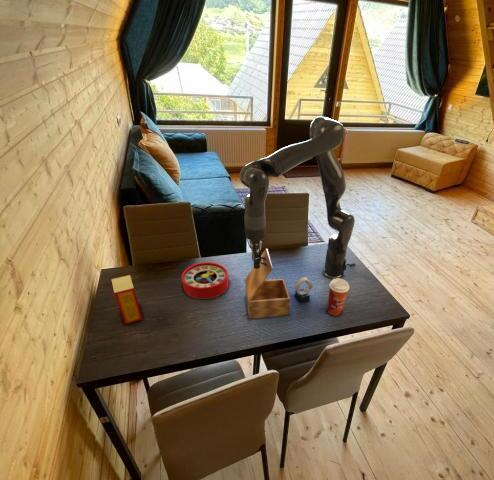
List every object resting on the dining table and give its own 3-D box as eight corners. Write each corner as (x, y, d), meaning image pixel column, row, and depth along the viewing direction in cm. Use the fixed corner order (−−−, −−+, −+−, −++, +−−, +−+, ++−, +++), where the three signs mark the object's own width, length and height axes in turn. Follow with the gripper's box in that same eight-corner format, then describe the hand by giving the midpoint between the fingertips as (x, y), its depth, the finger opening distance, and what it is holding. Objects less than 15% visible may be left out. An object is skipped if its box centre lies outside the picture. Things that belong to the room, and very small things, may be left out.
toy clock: (213, 257, 153) (236, 277, 141) (214, 267, 156) (236, 287, 145) (173, 271, 141) (195, 294, 130) (175, 282, 145) (197, 305, 133)
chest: (282, 294, 143) (284, 278, 138) (289, 315, 132) (290, 298, 127) (245, 297, 140) (245, 281, 134) (249, 318, 129) (248, 302, 124)
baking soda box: (121, 309, 128) (110, 278, 119) (138, 304, 131) (129, 273, 122) (125, 324, 122) (114, 292, 112) (142, 319, 125) (133, 287, 115)
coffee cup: (331, 319, 132) (337, 291, 123) (321, 307, 137) (325, 280, 128) (347, 314, 135) (354, 286, 126) (336, 302, 141) (342, 275, 132)
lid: (267, 248, 127) (256, 243, 124) (273, 268, 116) (260, 263, 113) (246, 280, 134) (234, 276, 132) (249, 301, 123) (237, 297, 121)
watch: (312, 299, 141) (315, 280, 135) (297, 304, 138) (299, 284, 131) (306, 292, 145) (309, 273, 138) (291, 296, 142) (293, 277, 135)
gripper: (268, 233, 107) (268, 274, 117) (262, 215, 118) (262, 253, 128) (246, 234, 105) (248, 275, 115) (242, 216, 116) (244, 254, 126)
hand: (255, 263), depth 122 cm, fingers closed on lid, 5 cm apart
